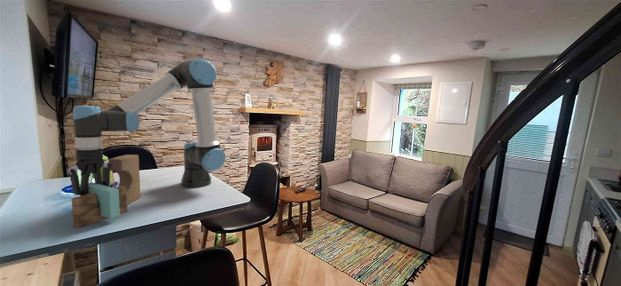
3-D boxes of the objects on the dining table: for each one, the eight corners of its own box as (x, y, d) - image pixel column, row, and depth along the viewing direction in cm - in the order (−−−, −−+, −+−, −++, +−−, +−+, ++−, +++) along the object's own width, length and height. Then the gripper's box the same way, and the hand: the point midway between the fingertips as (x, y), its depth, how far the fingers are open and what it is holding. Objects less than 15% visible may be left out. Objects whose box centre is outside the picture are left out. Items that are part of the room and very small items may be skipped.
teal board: (84, 210, 97) (82, 184, 95) (93, 207, 99) (91, 182, 98) (110, 218, 91) (109, 191, 89) (119, 215, 93) (118, 189, 92)
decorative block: (123, 207, 106) (120, 159, 104) (109, 206, 106) (106, 159, 104) (141, 197, 117) (139, 154, 114) (129, 197, 117) (126, 154, 115)
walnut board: (122, 209, 103) (121, 186, 102) (127, 211, 102) (126, 187, 101) (73, 226, 89) (71, 198, 87) (78, 227, 88) (76, 199, 86)
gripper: (107, 144, 103) (110, 201, 106) (55, 149, 88) (60, 215, 91) (119, 146, 100) (122, 204, 103) (67, 152, 85) (73, 219, 88)
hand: (93, 209), depth 97 cm, fingers closed on teal board, 3 cm apart
